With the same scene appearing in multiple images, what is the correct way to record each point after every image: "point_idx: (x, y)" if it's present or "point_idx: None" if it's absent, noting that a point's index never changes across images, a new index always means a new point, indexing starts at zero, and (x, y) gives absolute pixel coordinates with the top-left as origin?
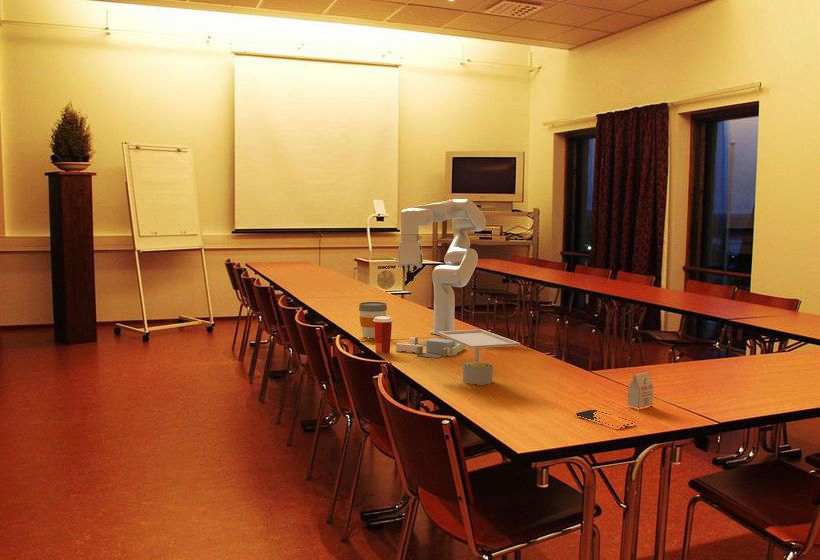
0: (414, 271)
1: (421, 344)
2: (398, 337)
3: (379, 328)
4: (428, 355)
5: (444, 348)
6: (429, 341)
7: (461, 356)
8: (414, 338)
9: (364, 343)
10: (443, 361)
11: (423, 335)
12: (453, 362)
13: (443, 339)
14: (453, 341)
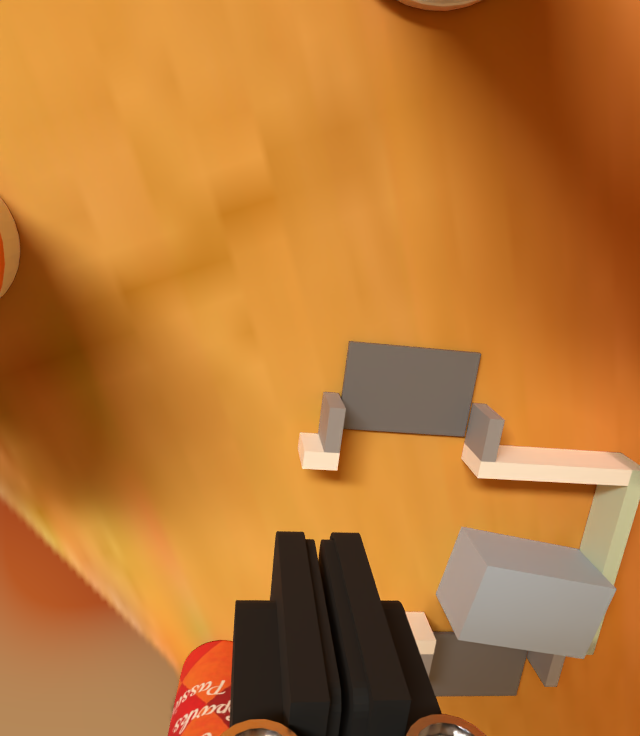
0: (464, 725)
1: (372, 428)
2: (138, 201)
3: None
4: (463, 672)
5: (552, 668)
6: (475, 640)
7: (611, 617)
8: (337, 463)
9: (6, 493)
10: (540, 730)
11: (298, 45)
12: (582, 731)
13: (548, 577)
14: (606, 610)
